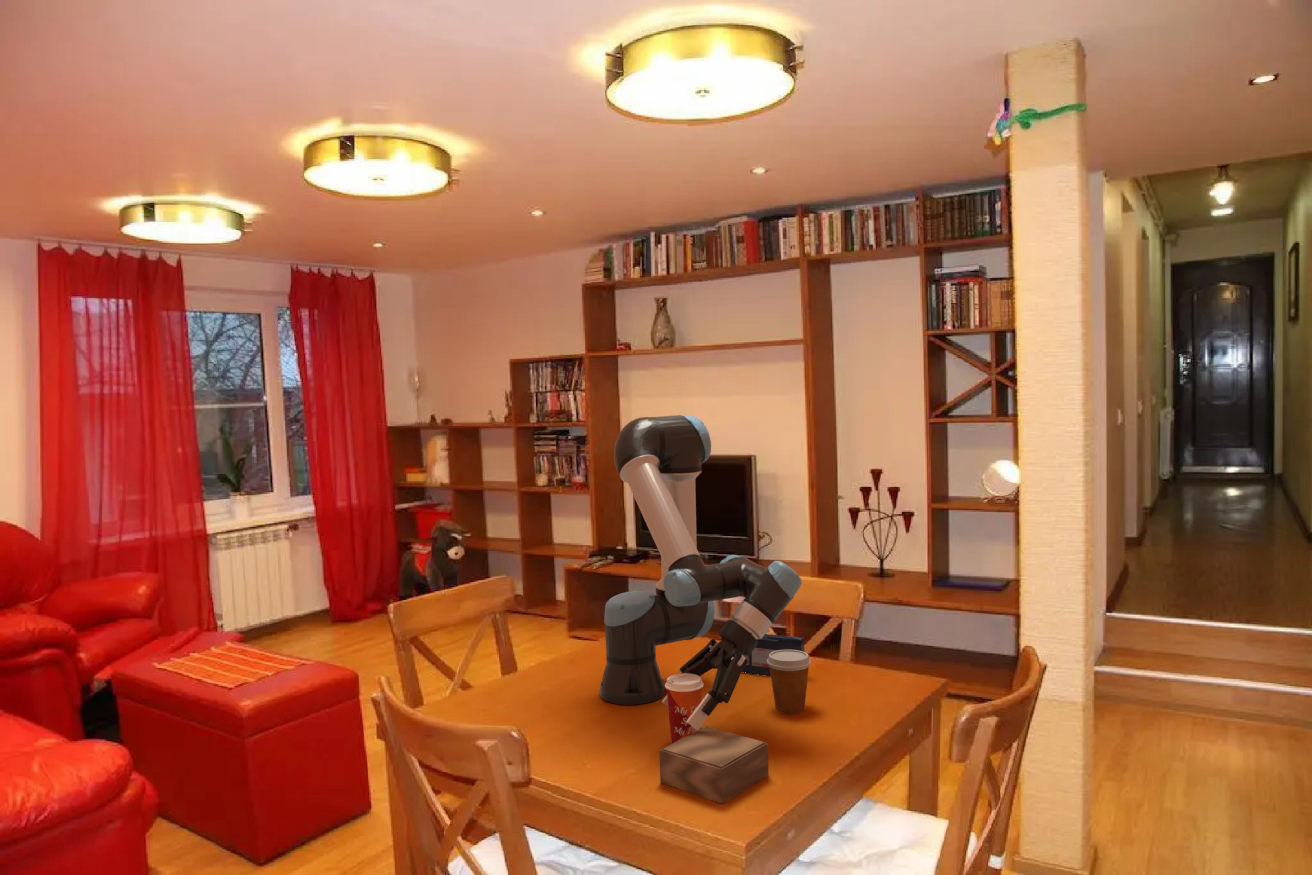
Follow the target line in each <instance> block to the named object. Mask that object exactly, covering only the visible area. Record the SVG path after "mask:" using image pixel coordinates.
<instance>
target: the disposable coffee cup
mask: <svg viewBox="0 0 1312 875" xmlns="http://www.w3.org/2000/svg"><path fill="white" fill-rule="evenodd" d="M811 660H812V659H811V658H810V656H809V654H808V653H807V652H803V651H799V650H777V651H774V652H771V653H770V654H769V658H768V659H767V663H768V665H769V667H770V674H771V677H770V680H771V686H772V693H773V699H774V700H773V701H774V706H775V710H776V711H777V712H778V713H781V714H787V715H794V714H800V713H803V712H804V711H805V708H806V699H807V698H806V697H807V690H808V689H807V688H808V687H807V686H808V678H809V677H808V676H809V668H810V666H811V662H812V661H811Z"/></svg>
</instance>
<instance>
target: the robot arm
mask: <svg viewBox="0 0 1312 875" xmlns="http://www.w3.org/2000/svg"><path fill="white" fill-rule="evenodd" d="M613 449H614V450H613V453H614V454H613V459H614V465H615V468H616V471H617V474H618V475H619V478H620V480H621V481H622V482H624V483H626V484H628V486H629V489H630V490H631V493H632V494H633V498H634V500H635V502H636V504H637V506H638V508H639V510H640V513H641V515H642V517H643V520H644V522H645V523H646V526H647V529H648V531H649V533H650V535H651V537H652V539H653V541H654V543H655V546H656V548H657V550H658V552H659V554H660V561H661V563H660V564H661V565H660V566H661V568H660V569H661V578H660V579H659V581H658V582H657V583H656V584H655V595H654V594H653V593H652V592H651V591H649V590H639V589H638V590H630V591H625V592H622V593H619V594H616V595H614V596H612V597H611V598H610V599H609V598H608V600H607V601H606V603H605V606H604V619H603V622H604V630H605V631H604V635H605V652H606V653H605V655H606V662H605V667H604V670H603V674H602V681H601V682H600V685H599V692H600V693H599V694H600V698H601V699H602V700H603V701H604V702H607V703H610V704H615V705H627V706H628V705H630V706H633V705H643V704H648V703H651V702H655V701H657V700H659V699H661V698H662V697H664V698H663V699H662V701H661V703H663V704H664V706H666V707H667V708H668V699H667V694H666V696H665V692H666V691H665V690H666V687H665V681H664V679H663V678H662V676H661V672H660V668H659V665H658V662H657V652H656V651H657V646H661V645H667V644H672V643H676V642H684V641H691V640H693V639H696V638H700V637H703V636H705V635H706V634H707V633H708V632H709V631H710V630H711V628H712V626H713V622H714V619H715V604H714V601H723V600H727V599H728V600H729V599H734V598H740V597H741V598H743V600H742V601H741V603H739V605H738V606H737V607H736V609H735V610H734V611H733V612H732V614H731V619H728V620H727V621H726V622H725V623H724V625H723V626H722V627H721V629H720V630H719V633H718V634H719V636H720V637H721V640H719V642H718V641H717V640H716V639H715V638H711V640H710V641H709V642H708V643H707V644H706V645H705V646H704V647H703V648H702V649H701V650H699V651H698V652H697V653H695V655H694V656H693V657H691V658H690V659H689V660H688V661H686V662H685V663H684V664H683V665H682V666H681V667H680V668H679V671H680V672H681V673H689V674H695V675H698V676H700V677H702V676H703V675H705V674H706V673H708V672H709V671H711V670H712V669H714V670H716V669H717V670H716V674H715V676H714V681H713V685H712V688H711V690H708V691H707V693H706V695H705V696H704V697H703V698H702V701H701V703H700V704H699V705H698V707H697V708H696V709H695V711H694V712H693V713H692V715H691V716H690V717H689V719H688V720H687V721H686V722H687V723H689V724H690V725H691V726H692V727H693V728H694V729H696V730H697V731H698V730H699V729H700V727H701V728H702V726H703V725H704V723H705V722H706V721H707V719H708V718H709V717H710V715H711V714H712V713H713V712H714V711H715V709H716V707H717V706H718V705H719V704H722V703H723V702H724V703H725V704H728V702H730V700H731V698H732V695H733V693H734V691H735V688H736V686H737V683H738V681H739V679H740V677H741V675H742V673H741V672H742V670H743V668H744V667H745V665H746V664H747V662H748V660H747V659H746V658H745V657H744V656H743V655H745V656H749V655H750V654H751V652H752V651H753V650H754V648H755V647H756V646H757V644H758V641H757V639H762V637H763V636H764V635H765V634H767V633H769V630H770V628H771V627H772V625H774V623H775V622H776V620H777V619H778V618H779V617H780V615H781V614H782V612H784V610H785V609H786V608H787V606H788V605H789V604H790V603H791V601H792V600H793V599H794V597H795V596H796V594H797V592H798V591H799V589H800V588H801V586H802V583H803V580H802V578H801V577H800V575H799V574H798V573H797V572H796V571H795V570H794V569H793V568H792V567H790V566H789V565H787V564H786V563H784V562H783V561H781V560H774V561H773V562H772V563H771V564H770V565H768V567H764V566H762V565H760V564H758V563H756V562H754V561H752V560H751V559H749V558H747V557H744V556H739V555H737V554H731V555H727V556H726V557H725V558H723V559H722V560H720V562H719V563H713V564H705V563H704V561H703V559H702V556H701V555H700V553H699V550H698V549H697V548H698V546H697V505H696V504H697V500H696V499H697V498H696V480H697V477H699V476H700V474H702V464H704V463H705V462H707V461H708V459H709V458H710V455H711V452H712V439H711V435H710V433H709V430H708V428H707V426H706V425H705V423H704V422H703V420H701V419H700V418H698V417H697V416H694V415H687V414H686V415H684V414H683V415H682V414H678V415H677V414H676V415H664V416H651V417H650V416H649V417H648V416H642V417H637V418H635V419H633V420H631V421H629V422H628V423H627V424H625V425H624V426H623V428H622V429H621V430H620V432H619V433H618V435H617V438H616V439H615V443H614V448H613ZM742 654H743V655H742Z"/></svg>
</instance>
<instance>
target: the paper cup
mask: <svg viewBox="0 0 1312 875" xmlns="http://www.w3.org/2000/svg"><path fill="white" fill-rule="evenodd" d="M704 685H705V684H704V682H703V680H702V678H701V676H698V675H695V674H689V673H682V672H681V673H674V674H671V675H670V676H668V677H667V678H666V682H664V687H665V689H666V695H667V699H668V707H667V708H668V718H669V719H668V720H669V730H670V740H671V744H673V743H675V742H677V741H679V740H681V739H683V738H685V737H687V736H689V735H691V734H693V733H695V732H697V730H696V729H694V728H693V727H692V726H691V725H690V724H689V723H687V722H686V721H687V720H688V719H689V717H690V716H691V715H692V713H693V712H694V711H695V709H696V708H697V707H698V705H699V704H700V703H701V701H702V700H703V687H704ZM700 729H702V726H701V727H700ZM700 729H699V730H700Z"/></svg>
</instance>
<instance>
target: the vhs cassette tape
mask: <svg viewBox="0 0 1312 875" xmlns="http://www.w3.org/2000/svg"><path fill="white" fill-rule="evenodd" d="M757 641H758V644H757V646H756V647H755V648H754V650H753V651H752V652H751V654H750V655H749V656H745V655H743V654H742V655H743V656H744V657H745V658H746V659H747V660H748V662H747V664H746V665H745V667H744V668H743V670H742V672H744V673H743V674H746V673H750V674H749V675H754V674H759V675H758V676H762V675H766V676H765V677H770V676H771V674H770V667H769V665H768V663H767V659H768V658H769V654H770V653H771V652H774V651H777V650H799V651H803V652H805V637H798V636H792V635H790V636H789V635H779V634H769V633H768V634H767V633H765V635H764V636H763V637H762V639H757ZM805 653H806V652H805ZM745 672H746V673H745ZM751 673H752V674H751Z"/></svg>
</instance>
